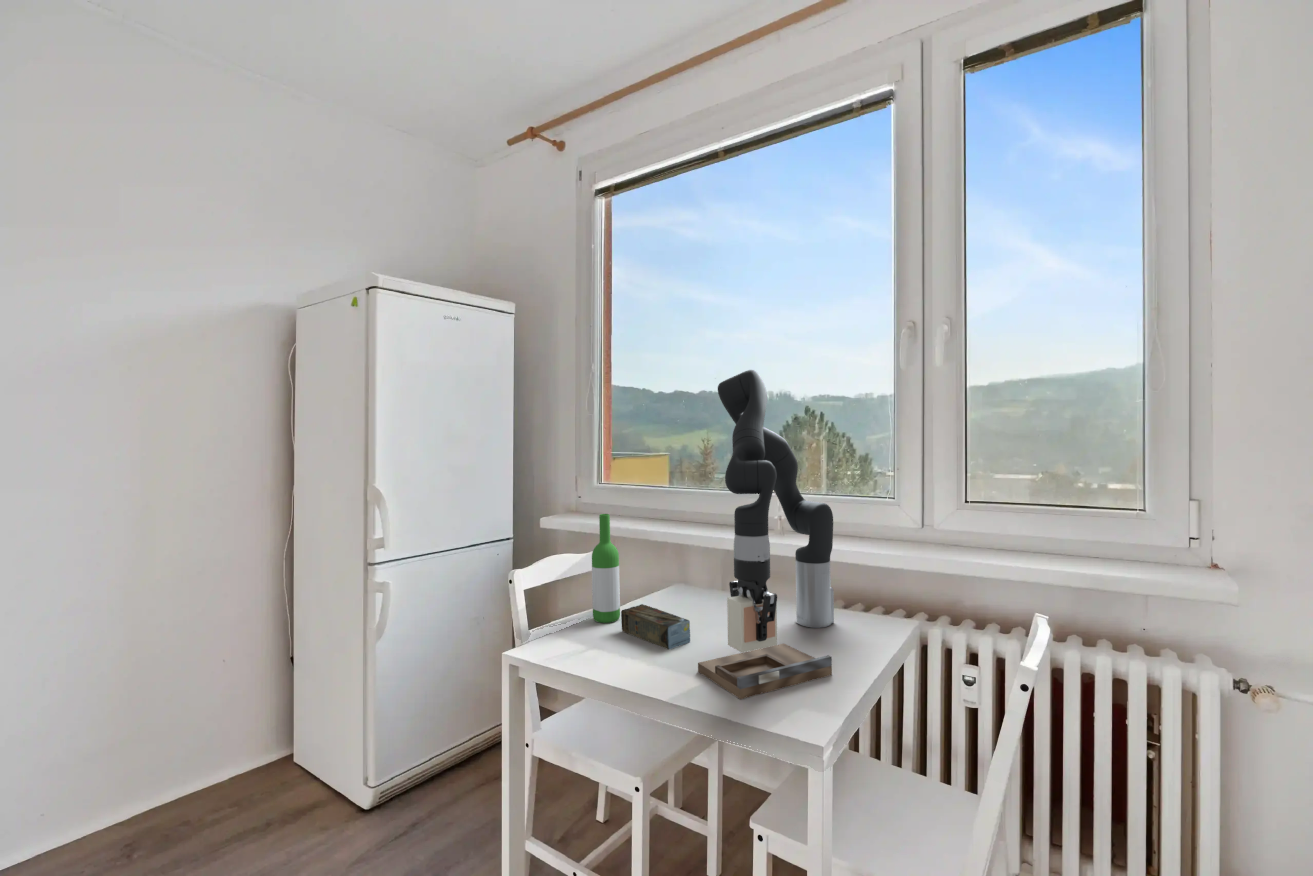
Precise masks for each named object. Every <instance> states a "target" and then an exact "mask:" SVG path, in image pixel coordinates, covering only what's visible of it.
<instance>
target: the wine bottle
mask: <svg viewBox="0 0 1313 876" xmlns="http://www.w3.org/2000/svg"><path fill="white" fill-rule="evenodd" d="M610 518H611V516H610V514H608V513H601V514H599V517H598V519H599V521H598V522H599V542H598V544H596V545H595V546H594V548H593V550H592V552H591V593H592V618H593V621H595V622H597V623H600V624H601V623H602V624H609V623H614V622H617V621H618V620H620V618H621V599H620V598H621V597H620V596H621V594H620V592H621V591H620V588H621V587H620V555H619V554H620V553H619V550H618V549H617V547H616V545H614V544H613V543H612V541H611V519H610Z"/></svg>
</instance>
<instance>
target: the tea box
mask: <svg viewBox="0 0 1313 876" xmlns="http://www.w3.org/2000/svg"><path fill="white" fill-rule="evenodd" d="M726 601H727V602H726V603H727V604H726V605H727V645H728V647H730V648H732V649H735V650H736V651H738V652H740V653H743V652H748V651H752V650H757V649H761V648H766V647H770V646H775V645H778V614H777V613H778V612H777V611H778V609H777V607H778V606H777V604H776V612H775V619H774V621H771V622H768V623H767V639H766V640H765V641H760V642H759V641H757V640H756V623H757V622H756V618H755V612H754V611H753V606H752V601H750V600H749V599H748V598H746V597H740V596H735V597H731V596H730V597H727V599H726ZM756 606H757V607H763V603H762V604H756ZM759 613H760V617H762V611H760V612H759ZM769 614H770V612H768V616H769Z"/></svg>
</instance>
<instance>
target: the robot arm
mask: <svg viewBox="0 0 1313 876" xmlns="http://www.w3.org/2000/svg"><path fill="white" fill-rule="evenodd" d="M717 394H718V396H719V397H718V398H719V399H720V402H721V403H722V405H723V407H724V408H725V410H726V412H727V413H728V415H729V417H730V418H731V420H732V421H733V422H734V423H735V426H734V429H733V431H732V438H731V440H732V454H731V456H730V457H731V458H730V460H729V462H728V464H727V467H726V470H725V476H724V483H725V485H726V488H727V489H728V491H730V492H731V493H733V494H734V495H757V494H758V498H757V499H756V500H755V501H753V502H752V503H748V504H744V505H739V506H737V507H736V508H735V509H734V514H733V515H734V540H733V576H734V578H735V579H736V580H734V581H729V584H728V585H729V594H730V597H735V596H740V597H746V598H748V599H749V600H750V601H752V606H753V611H754V612H755V618H756V622H757V623H756V640H757V641H759V642H760V641H765V640H766V639H767V623H768V622H771V621H774V619H775V612H776V604H777V603H778V594H777V592H776V593H771V592H769V589H768V586H767V581H768V580H770V578H771V545H770V544H771V543H770V539H769V537H770V536H769V512H770V505H771V500H772V497H773V493H775V496H776V497H777V500H778V502H779V504H780V507H781V508H782V511H783V513H784V516H785V517H786V518H785V519H786V520H787V522H788V523H787V524H789V526H790V528H791V529H792V530H793V531H794V532H795V533H797V534H801V535H805V536H808V544H807V545H805V546H801V547H798V548H797V549H796V550H795V555H794V556H795V589H796V590H795V597H796V598H795V599H796V600H795V601H796V602H795V603H796V604H795V605H796V606H795V607H796V608H795V609H796V610H795V611H796V613H795V614H796V624H798V625H800V626H802V627H803V626H804V627H807V628H820V629H821V628H827V627H830V626H831V625H832V624H834V623H835V611H834V610H835V608H834V607H835V606H834V605H835V603H834V602H835V601H834V600H835V599H834V598H835V597H834V596H835V595H834V588H833V587H831V583H832V582H831V555H832V554H831V553H832V552H833V543H834V540H833V539H834V514H833V511H832V508H831V507H830V506H829V504H827V503H825V502H821V501H820V502H818V501H809V500H806V499H805V498H804V497H803V495H802V493H801V492H800V491H799V488H798V485H797V478H798V471H799V470H798V469H799V468H798V467H799V465H798V460H797V457H796V456H795V454H794V451H793V450H792V449H791V446H790V445H789V443H788V442H787V440H786V439H785V438H784V437H783V436H781V435H780V434H778V433H776V432H775V431H772V430H770V429H768V428H766V427H765V426H764V424H765V417H766V410H767V404H768V403H767V402H768V393H767V387H766V385H765V382H764V379H763V378H762V376H761V375H760V373H759V372H757V370H755V369H748V370H745V371H742V372H741V373H738V374H736V375H734V376H731V377H730V378H727V379H725V380H723V381H721V382H720V383H719V384H718V385H717ZM762 603H763V607H757V606H756V604H762ZM760 611H762V617H760V613H759V612H760ZM768 612H770V614H769V616H768Z"/></svg>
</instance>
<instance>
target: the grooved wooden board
mask: <svg viewBox="0 0 1313 876" xmlns="http://www.w3.org/2000/svg"><path fill="white" fill-rule="evenodd" d="M832 665H833V656H831V655H830V654H827V655H823V656H819V657H815V656H812V655H809V654H807V653H805V652H803V651H801V650H799V649H797V648H794V647H792V646H790V645H788V644H786V643H779V644H777V645H775V646H770V647H766V648H761V649H756V650H752V651H747V652H740V653H736V654H730V655H726V656H722V657H716V658H713V659H709V660H704V661H699V662H697V673H700V674H701V675H703V677H705V678H706V679H709V680H710V681H712V682H713V683H715V684H716V685H718V686H719V687H720V688H722V689H724V690H725V691H727V692H729V694H732V695H733V696H735V697H736V698H737V699H739V700H744V699H747V698H750V697H754V696H758V695H762V694H767V693H771V692H774V691H777V690H780V689H784V688H789V687H793V686H796V685H800V684H803V683H804V684H805V683H807V682H811V681H814V680H818V679H822V678H825V677H829V676H832V675H833V666H832Z"/></svg>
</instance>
